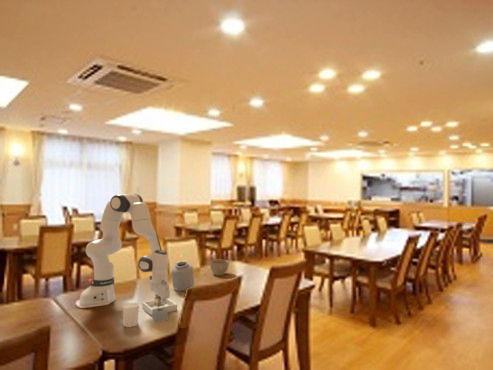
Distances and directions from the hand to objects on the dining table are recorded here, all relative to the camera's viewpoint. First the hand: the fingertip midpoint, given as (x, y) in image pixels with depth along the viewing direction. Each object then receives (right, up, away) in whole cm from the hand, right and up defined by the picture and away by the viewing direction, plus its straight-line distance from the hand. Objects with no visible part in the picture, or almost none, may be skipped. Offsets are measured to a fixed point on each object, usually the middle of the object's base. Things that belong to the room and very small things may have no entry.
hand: (159, 302), depth 187 cm
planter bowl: (+28, -6, +80) cm, 85 cm away
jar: (+6, -5, +38) cm, 38 cm away
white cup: (-9, -4, -22) cm, 24 cm away
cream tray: (0, -4, 0) cm, 4 cm away
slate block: (+4, -4, -14) cm, 15 cm away
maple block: (0, -2, 0) cm, 2 cm away
